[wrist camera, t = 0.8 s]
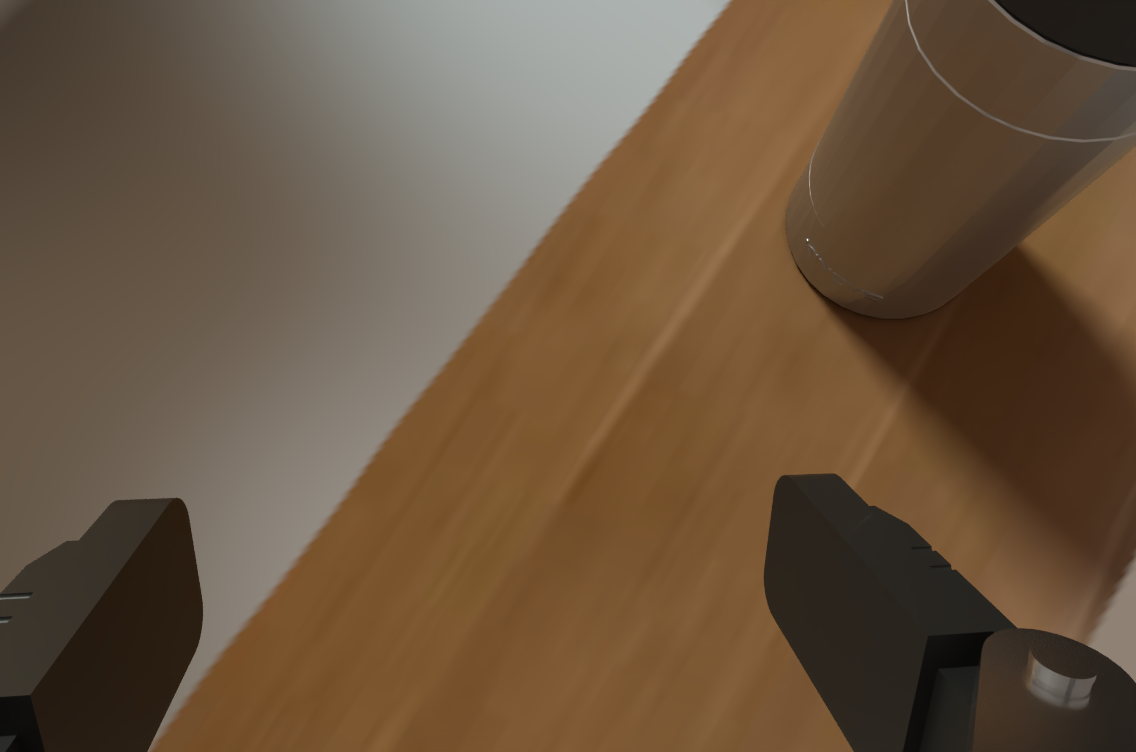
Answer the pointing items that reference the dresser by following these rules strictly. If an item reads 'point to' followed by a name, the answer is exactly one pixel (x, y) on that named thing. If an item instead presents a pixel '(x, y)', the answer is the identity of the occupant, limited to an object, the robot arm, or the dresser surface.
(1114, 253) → the dresser surface
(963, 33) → the robot arm
